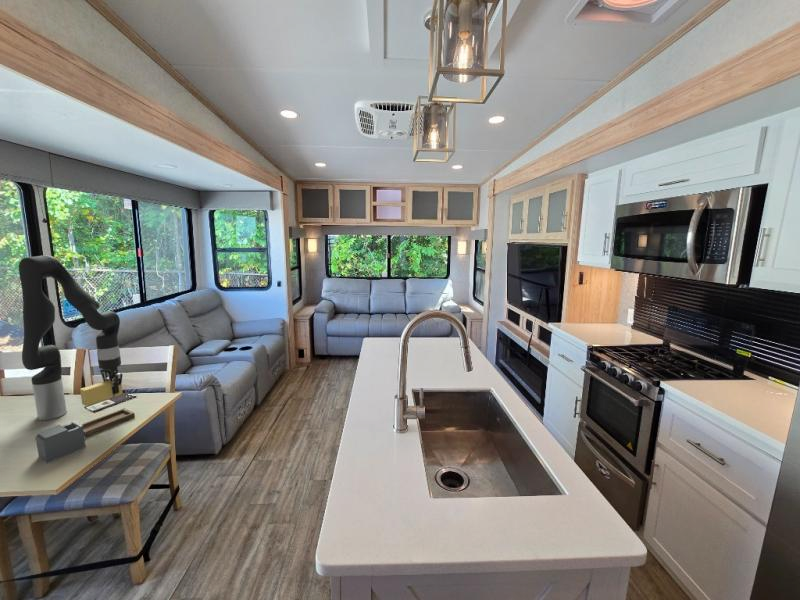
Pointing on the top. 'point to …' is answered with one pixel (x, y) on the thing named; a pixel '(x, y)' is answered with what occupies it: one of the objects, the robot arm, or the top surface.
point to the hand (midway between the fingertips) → (113, 392)
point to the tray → (106, 421)
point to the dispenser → (60, 441)
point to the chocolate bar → (109, 402)
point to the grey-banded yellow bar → (98, 393)
